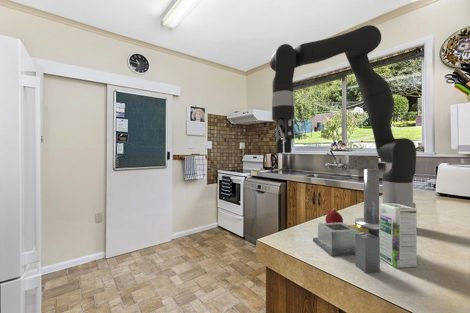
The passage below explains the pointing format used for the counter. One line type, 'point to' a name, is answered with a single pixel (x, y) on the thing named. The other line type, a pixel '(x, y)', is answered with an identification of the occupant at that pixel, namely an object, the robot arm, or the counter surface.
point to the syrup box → (398, 235)
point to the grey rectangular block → (367, 252)
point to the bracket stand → (343, 236)
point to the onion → (334, 217)
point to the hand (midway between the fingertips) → (283, 153)
